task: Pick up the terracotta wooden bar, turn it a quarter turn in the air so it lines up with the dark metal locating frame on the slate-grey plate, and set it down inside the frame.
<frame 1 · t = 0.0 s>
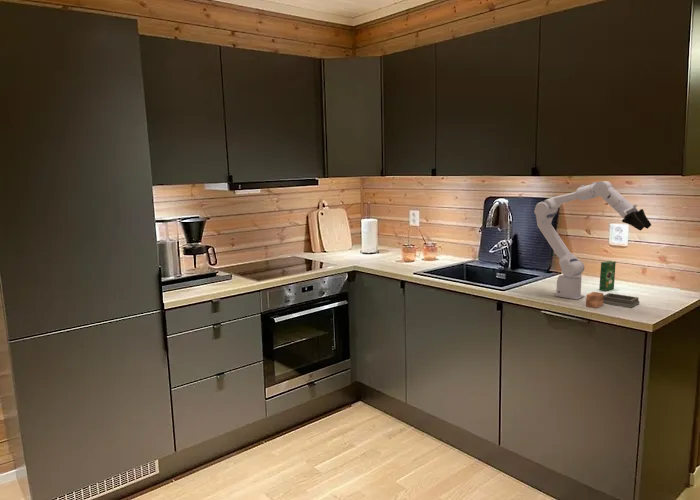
hand: (646, 227, 205), 32 cm above the worktop, tool tilted 50°, fingers open, 7 cm apart
coffee box: (606, 290, 241), on the worktop
terracotta bar: (594, 305, 215), on the worktop
nest plate: (619, 303, 218), on the worktop
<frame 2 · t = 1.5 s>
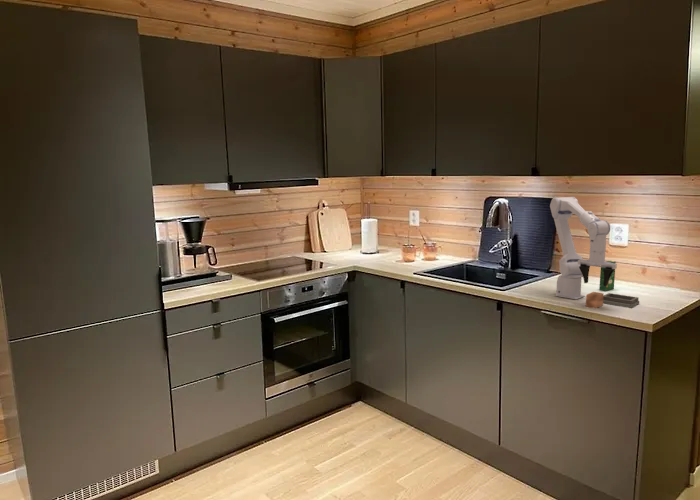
hand: (595, 284, 214), 9 cm above the worktop, tool pointing down, fingers open, 7 cm apart
nothing on the worktop moved.
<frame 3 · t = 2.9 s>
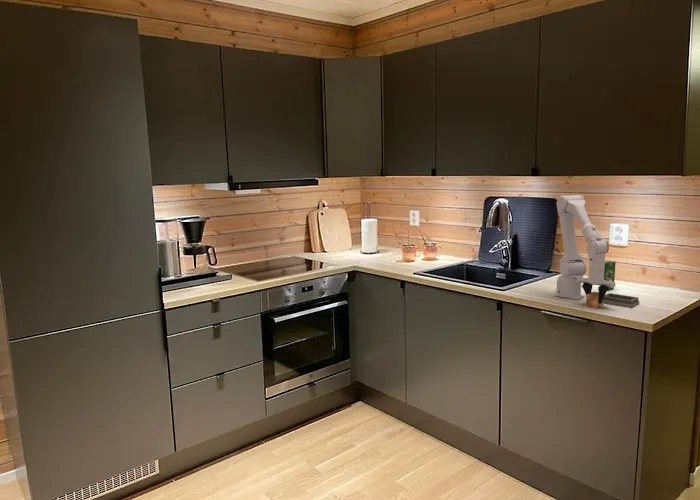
hand: (594, 302, 215), 1 cm above the worktop, tool pointing down, fingers closed on terracotta bar, 4 cm apart
terracotta bar: (594, 305, 215), on the worktop, touching gripper
everything else where it was.
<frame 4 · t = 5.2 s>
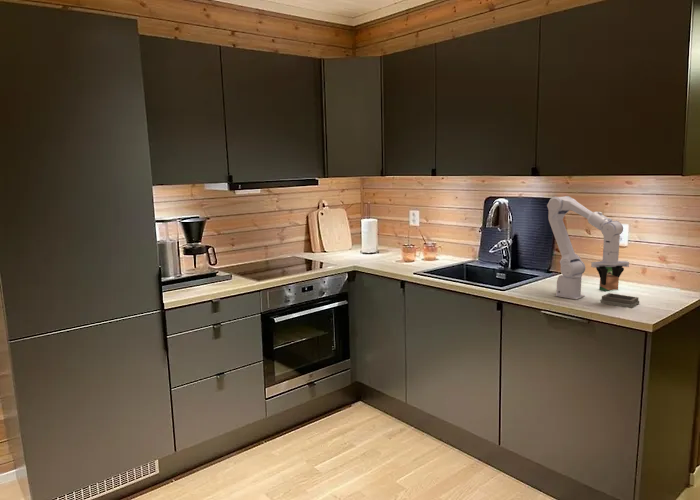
hand: (608, 284, 215), 8 cm above the worktop, tool pointing down, fingers closed on terracotta bar, 4 cm apart
terracotta bar: (608, 287, 216), point 7 cm above the worktop, touching gripper
everything else where it was.
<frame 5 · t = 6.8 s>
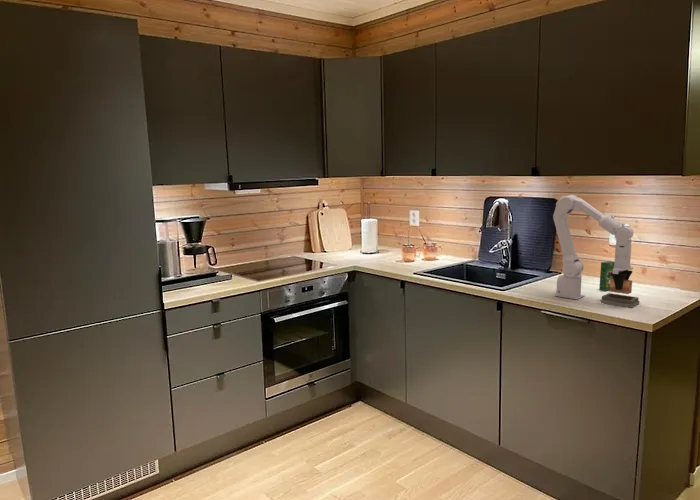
hand: (620, 288, 217), 6 cm above the worktop, tool pointing down, fingers closed on terracotta bar, 4 cm apart
terracotta bar: (620, 291, 217), point 5 cm above the worktop, touching gripper
everything else where it was.
when the fingers open (4 cm above the worktop, at t = 7.8 s): terracotta bar stays where it is, resting on nest plate.
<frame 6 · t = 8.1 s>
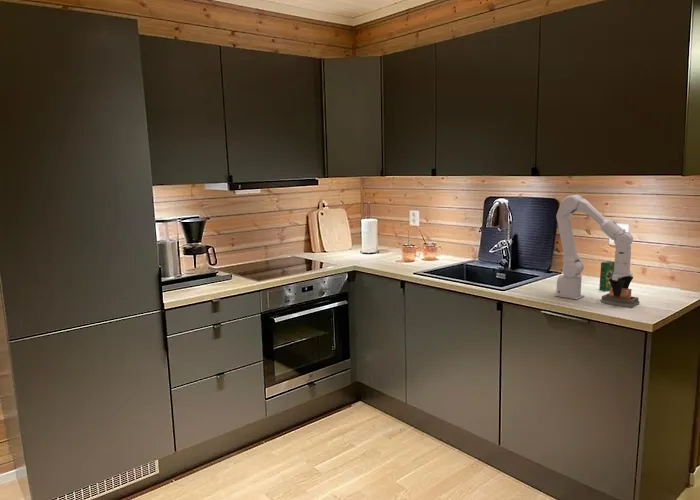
hand: (620, 294, 218), 4 cm above the worktop, tool pointing down, fingers open, 7 cm apart
terracotta bar: (619, 300, 218), point 1 cm above the worktop, touching nest plate
everything else where it was.
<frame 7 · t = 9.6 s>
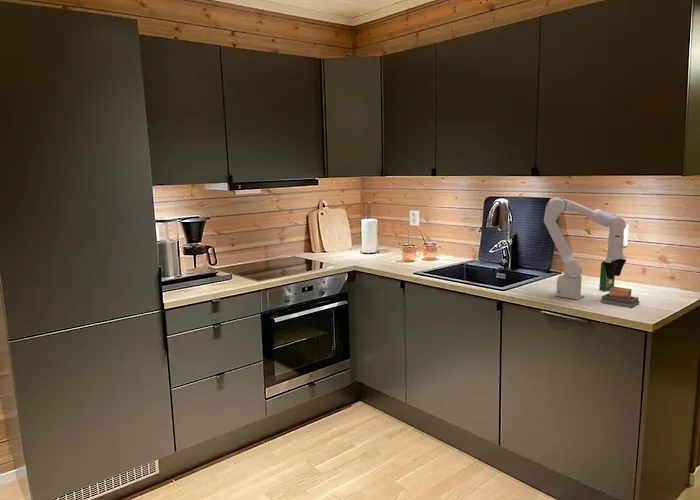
hand: (613, 277, 224), 9 cm above the worktop, tool pointing down, fingers open, 7 cm apart
nothing on the worktop moved.
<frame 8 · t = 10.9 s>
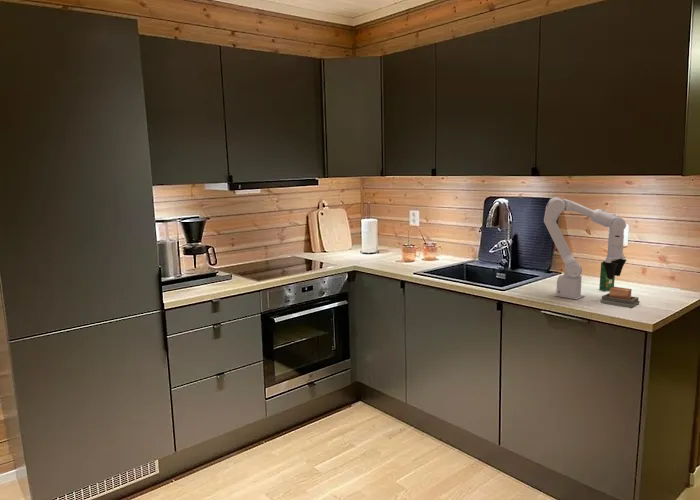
hand: (613, 277, 224), 9 cm above the worktop, tool pointing down, fingers open, 7 cm apart
nothing on the worktop moved.
at the end: terracotta bar 0.0 cm off-centre on the nest plate, point 1.2 cm above the nest plate's base; terracotta bar tilted 0°; the gripper is holding nothing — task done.
